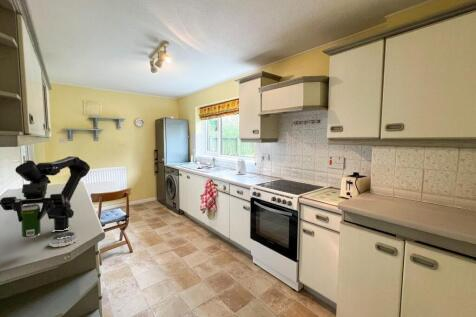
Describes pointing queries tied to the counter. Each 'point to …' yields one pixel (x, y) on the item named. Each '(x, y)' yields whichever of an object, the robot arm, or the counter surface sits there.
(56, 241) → the duct collar
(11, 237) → the counter surface
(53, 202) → the robot arm
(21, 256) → the counter surface
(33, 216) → the beer can
